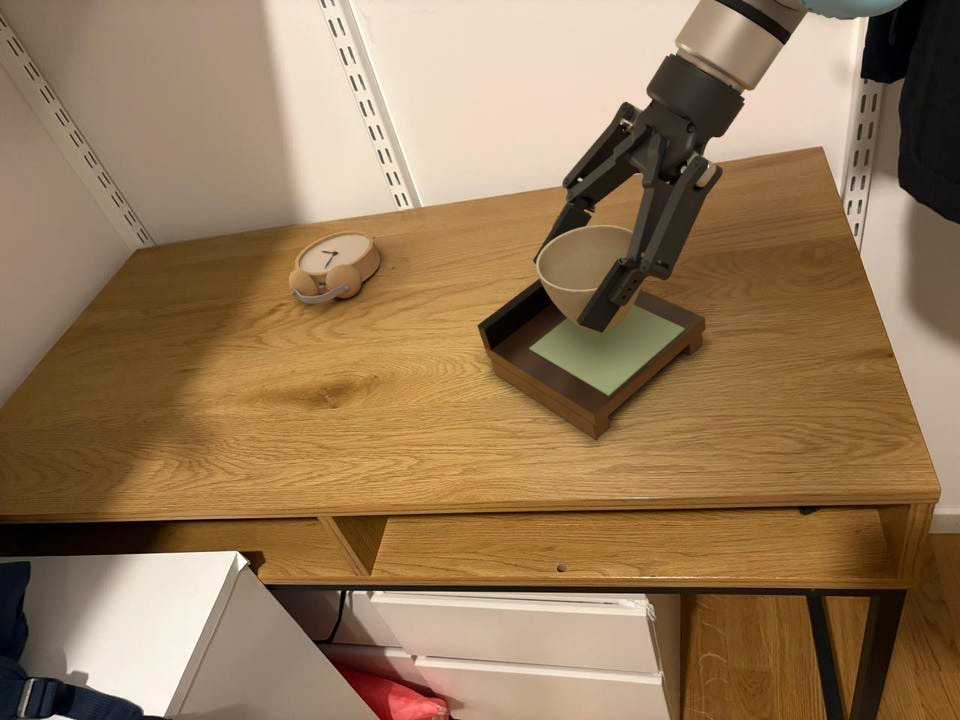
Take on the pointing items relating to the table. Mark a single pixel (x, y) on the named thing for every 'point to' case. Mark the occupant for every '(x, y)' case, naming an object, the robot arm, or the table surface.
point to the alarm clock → (334, 266)
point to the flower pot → (583, 267)
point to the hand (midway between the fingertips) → (565, 294)
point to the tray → (585, 353)
